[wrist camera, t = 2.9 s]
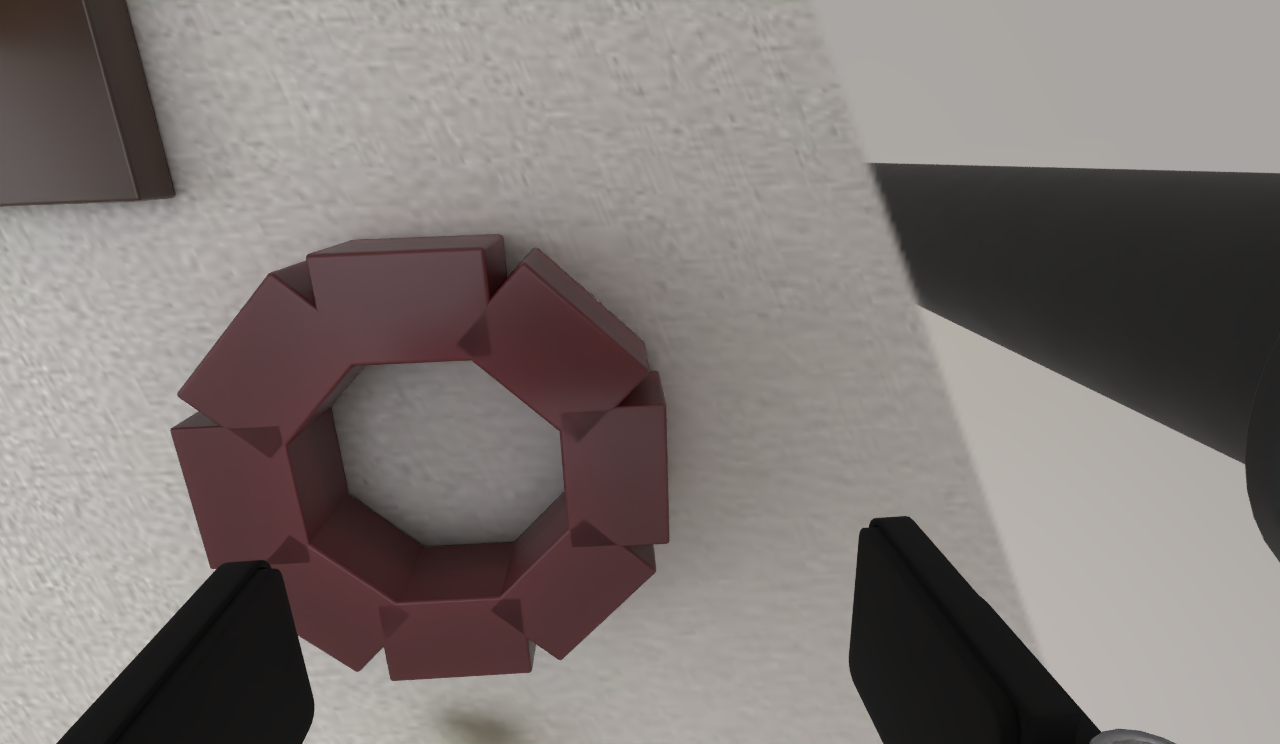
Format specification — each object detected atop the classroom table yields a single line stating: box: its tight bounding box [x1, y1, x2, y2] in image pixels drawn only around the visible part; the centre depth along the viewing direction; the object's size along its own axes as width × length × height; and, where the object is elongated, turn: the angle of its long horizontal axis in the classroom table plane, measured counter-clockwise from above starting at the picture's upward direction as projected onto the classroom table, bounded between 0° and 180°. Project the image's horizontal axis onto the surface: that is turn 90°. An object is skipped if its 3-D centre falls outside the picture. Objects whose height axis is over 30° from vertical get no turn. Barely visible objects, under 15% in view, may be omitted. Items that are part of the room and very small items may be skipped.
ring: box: [170, 234, 670, 681], centre depth 16 cm, size 11×11×2 cm
